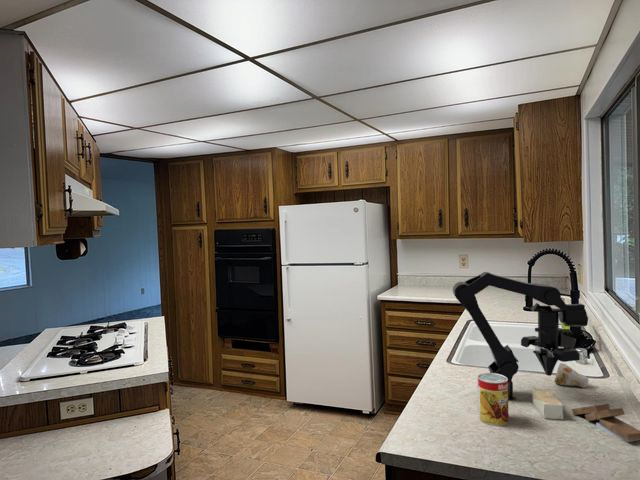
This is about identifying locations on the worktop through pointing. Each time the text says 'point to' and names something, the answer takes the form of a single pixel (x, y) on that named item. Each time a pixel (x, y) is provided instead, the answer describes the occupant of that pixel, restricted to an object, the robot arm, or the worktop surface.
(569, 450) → the worktop surface
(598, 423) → the domino
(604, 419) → the domino
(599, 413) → the domino
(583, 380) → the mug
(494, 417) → the canned food
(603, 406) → the domino
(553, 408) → the box
